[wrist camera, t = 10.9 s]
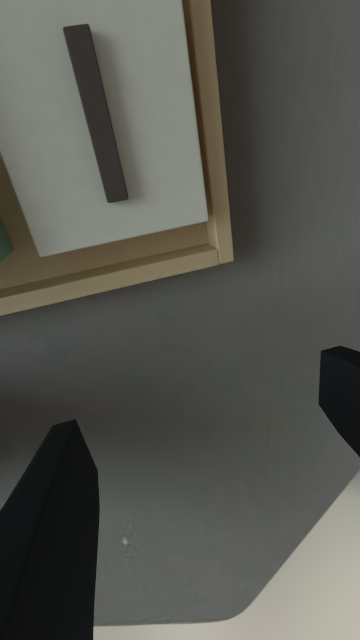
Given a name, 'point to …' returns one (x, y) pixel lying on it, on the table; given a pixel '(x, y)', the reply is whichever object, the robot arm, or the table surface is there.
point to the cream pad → (99, 120)
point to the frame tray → (143, 251)
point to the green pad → (4, 242)
